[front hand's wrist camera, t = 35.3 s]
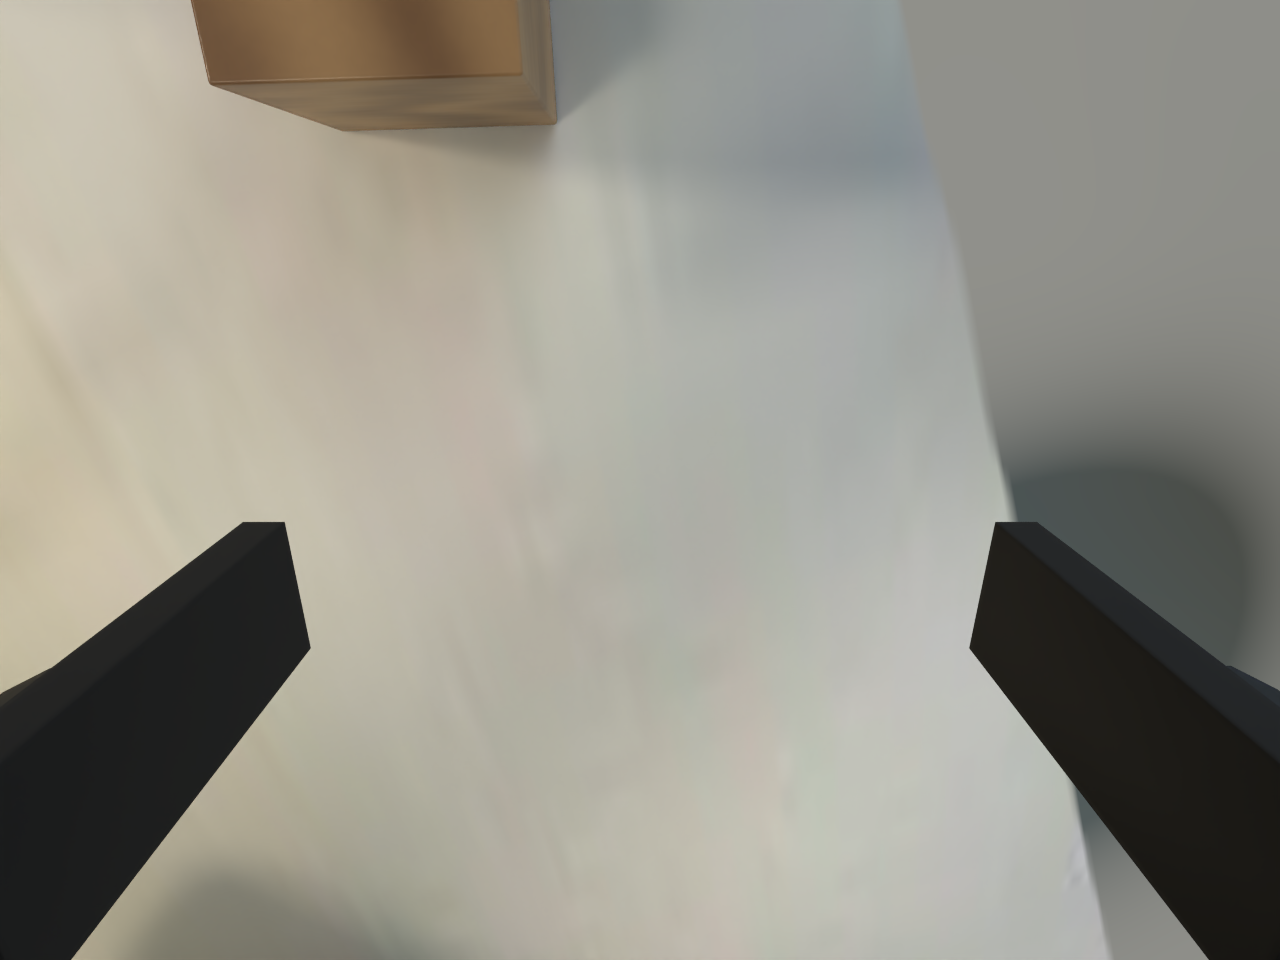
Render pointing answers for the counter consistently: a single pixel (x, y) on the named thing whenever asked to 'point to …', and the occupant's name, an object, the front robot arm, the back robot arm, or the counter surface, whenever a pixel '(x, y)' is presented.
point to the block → (385, 60)
